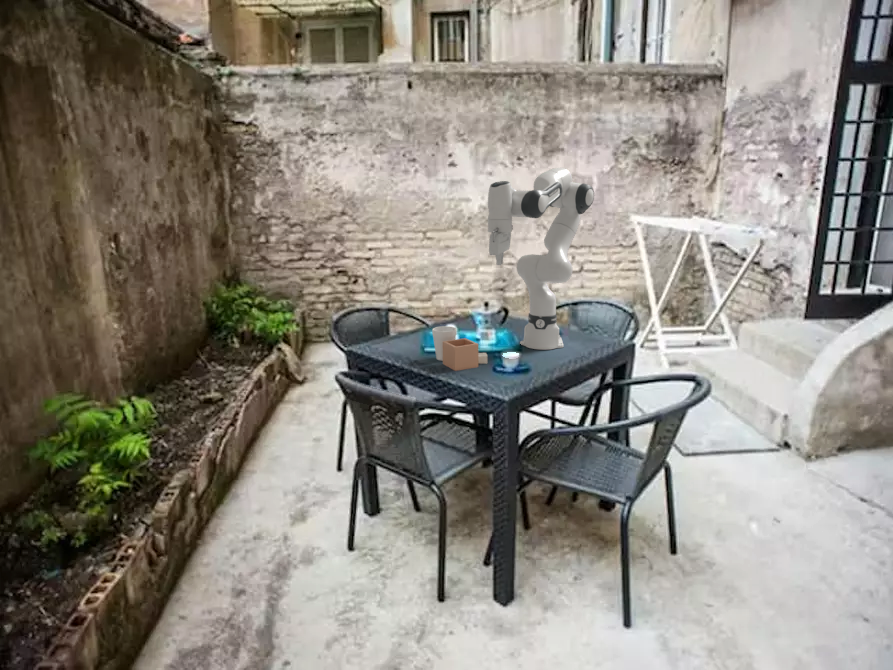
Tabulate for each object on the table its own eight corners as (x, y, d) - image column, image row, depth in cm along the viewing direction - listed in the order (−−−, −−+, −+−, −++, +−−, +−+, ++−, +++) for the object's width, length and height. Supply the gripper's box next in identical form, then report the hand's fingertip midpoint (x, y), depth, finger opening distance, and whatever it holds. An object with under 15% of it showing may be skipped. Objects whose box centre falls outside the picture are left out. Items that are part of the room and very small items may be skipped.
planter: (442, 366, 230) (442, 341, 227) (465, 362, 234) (465, 338, 232) (455, 373, 221) (455, 347, 219) (478, 369, 226) (478, 343, 223)
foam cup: (429, 362, 235) (428, 330, 232) (438, 356, 243) (438, 325, 240) (451, 365, 232) (450, 332, 228) (460, 358, 240) (460, 327, 237)
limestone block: (473, 362, 235) (473, 353, 234) (486, 362, 235) (486, 352, 234) (474, 366, 230) (474, 356, 229) (487, 366, 230) (487, 356, 229)
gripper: (502, 229, 208) (502, 268, 211) (513, 225, 227) (513, 261, 230) (484, 229, 210) (484, 268, 213) (497, 225, 229) (497, 261, 232)
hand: (499, 264), depth 222 cm, fingers closed
